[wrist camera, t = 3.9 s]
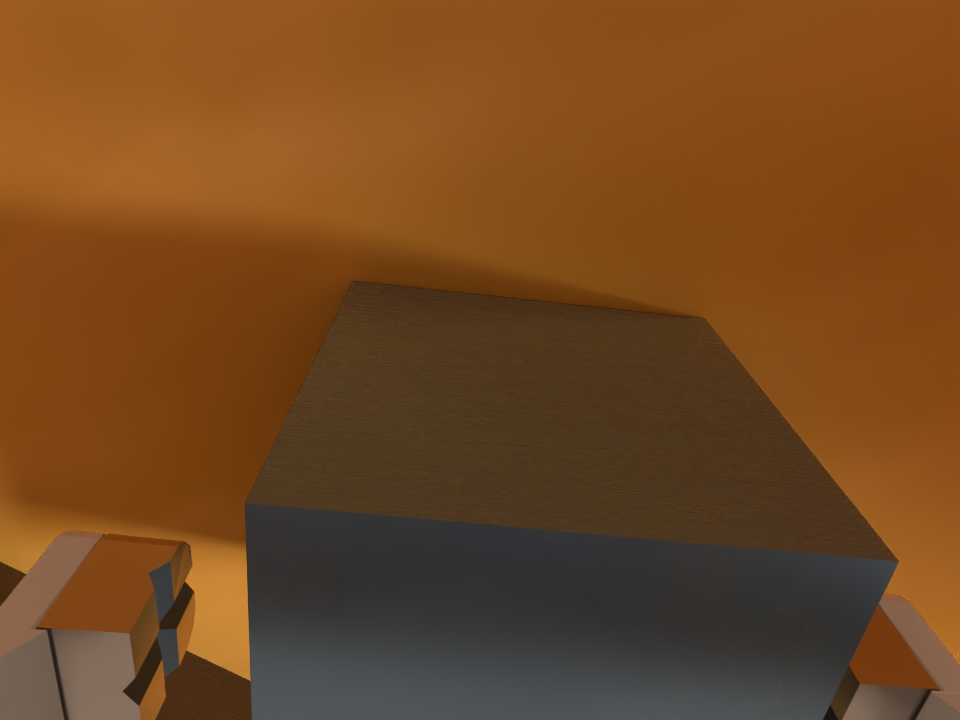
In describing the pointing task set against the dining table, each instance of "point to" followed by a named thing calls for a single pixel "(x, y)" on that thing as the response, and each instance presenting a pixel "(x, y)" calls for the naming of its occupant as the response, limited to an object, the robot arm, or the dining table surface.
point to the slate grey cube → (545, 525)
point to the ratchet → (183, 680)
